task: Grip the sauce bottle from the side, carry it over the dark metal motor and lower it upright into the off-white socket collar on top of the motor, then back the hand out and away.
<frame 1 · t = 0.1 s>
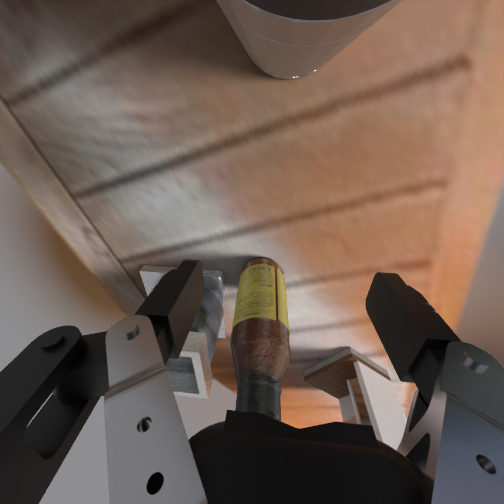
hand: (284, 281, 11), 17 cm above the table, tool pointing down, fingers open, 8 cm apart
sauce bottle: (263, 272, 33), on the table
white tower: (343, 369, 44), on the table
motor: (189, 301, 37), on the table
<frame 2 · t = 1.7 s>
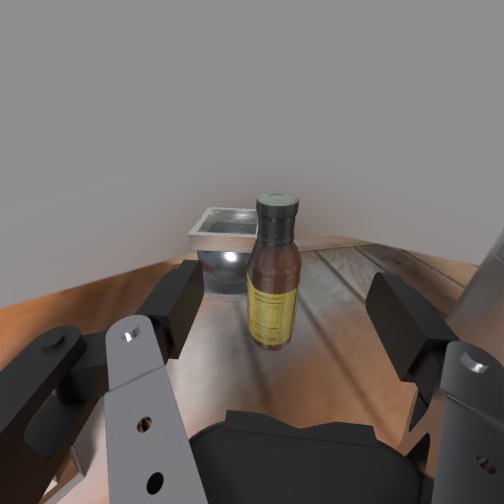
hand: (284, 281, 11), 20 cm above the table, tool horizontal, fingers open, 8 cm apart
sauce bottle: (269, 335, 32), on the table
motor: (233, 279, 42), on the table
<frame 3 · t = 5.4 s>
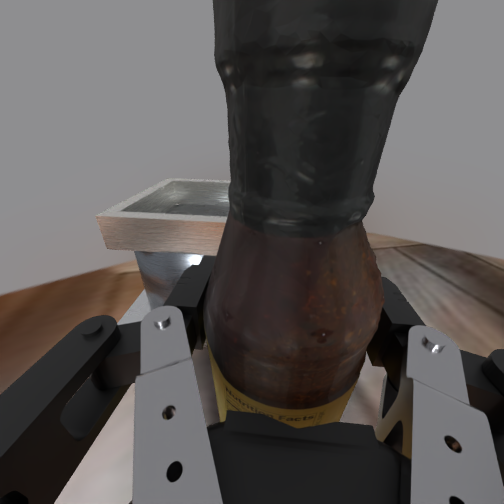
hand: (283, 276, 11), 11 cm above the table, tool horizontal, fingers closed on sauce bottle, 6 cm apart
sauce bottle: (269, 436, 15), on the table, touching gripper
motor: (209, 300, 25), on the table
when the fingers open (22 cm above the table, at t = 10.5 s): sauce bottle drops 1 cm, resting on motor.
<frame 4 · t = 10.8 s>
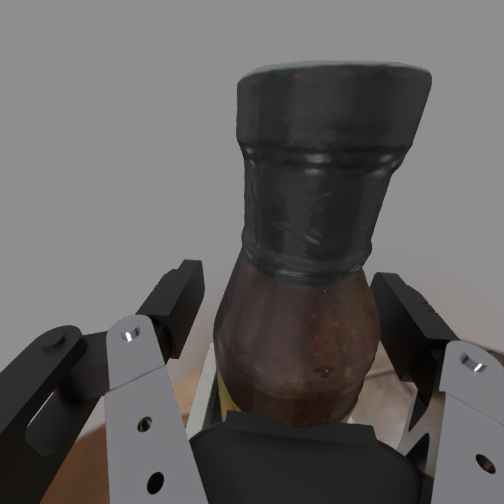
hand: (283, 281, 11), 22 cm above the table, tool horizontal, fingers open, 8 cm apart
sauce bottle: (270, 451, 15), point 9 cm above the table, touching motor
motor: (262, 491, 20), on the table
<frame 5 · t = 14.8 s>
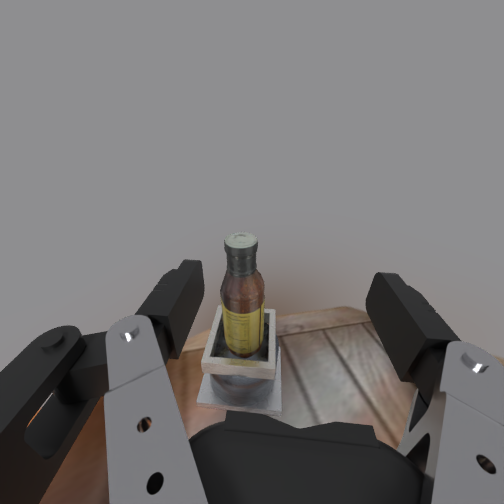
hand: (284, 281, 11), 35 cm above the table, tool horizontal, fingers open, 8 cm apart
sauce bottle: (243, 344, 37), point 9 cm above the table, touching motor
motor: (243, 376, 42), on the table
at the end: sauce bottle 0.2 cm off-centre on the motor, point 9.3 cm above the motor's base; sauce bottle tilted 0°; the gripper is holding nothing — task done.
